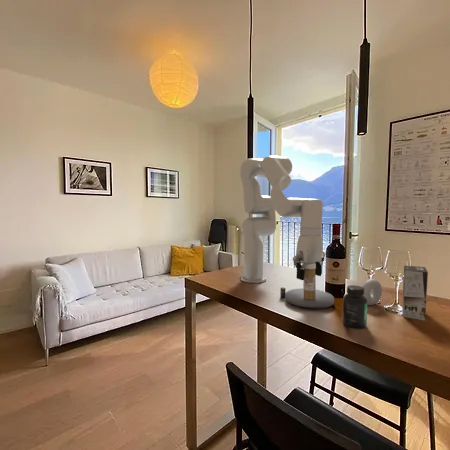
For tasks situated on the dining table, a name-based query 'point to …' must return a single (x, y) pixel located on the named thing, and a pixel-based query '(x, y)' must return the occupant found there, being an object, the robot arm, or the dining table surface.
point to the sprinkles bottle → (309, 281)
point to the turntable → (297, 299)
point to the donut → (376, 291)
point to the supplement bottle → (355, 307)
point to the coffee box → (414, 292)
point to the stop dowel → (282, 293)
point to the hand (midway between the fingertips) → (309, 277)
